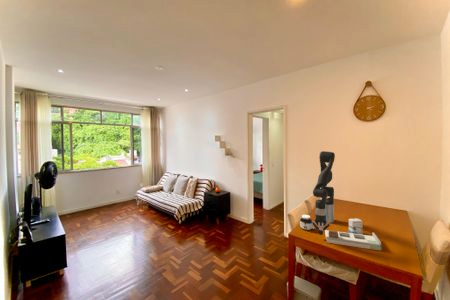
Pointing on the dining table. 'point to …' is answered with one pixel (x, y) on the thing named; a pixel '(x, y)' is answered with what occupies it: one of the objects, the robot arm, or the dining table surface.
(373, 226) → the dining table surface
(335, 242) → the two-hole white board
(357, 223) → the ink box
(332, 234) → the walnut block
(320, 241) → the dining table surface
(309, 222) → the spread jar
